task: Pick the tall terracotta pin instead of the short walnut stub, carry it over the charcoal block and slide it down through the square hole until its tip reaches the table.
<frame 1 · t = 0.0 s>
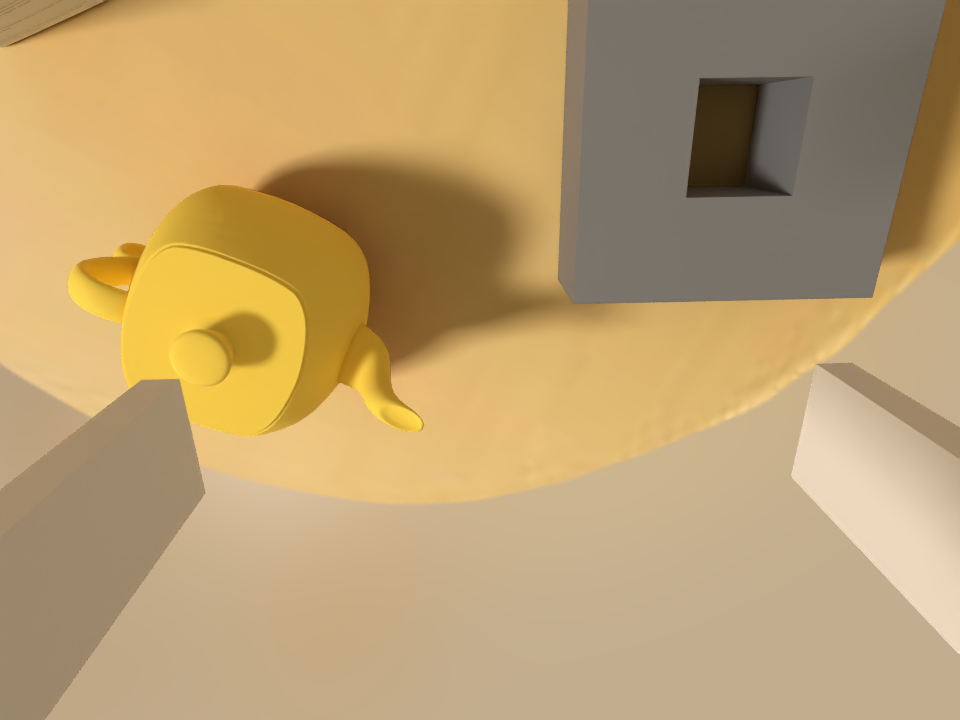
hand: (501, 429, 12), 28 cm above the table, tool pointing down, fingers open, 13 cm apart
teapot: (298, 298, 40), on the table
hole block: (704, 137, 36), on the table
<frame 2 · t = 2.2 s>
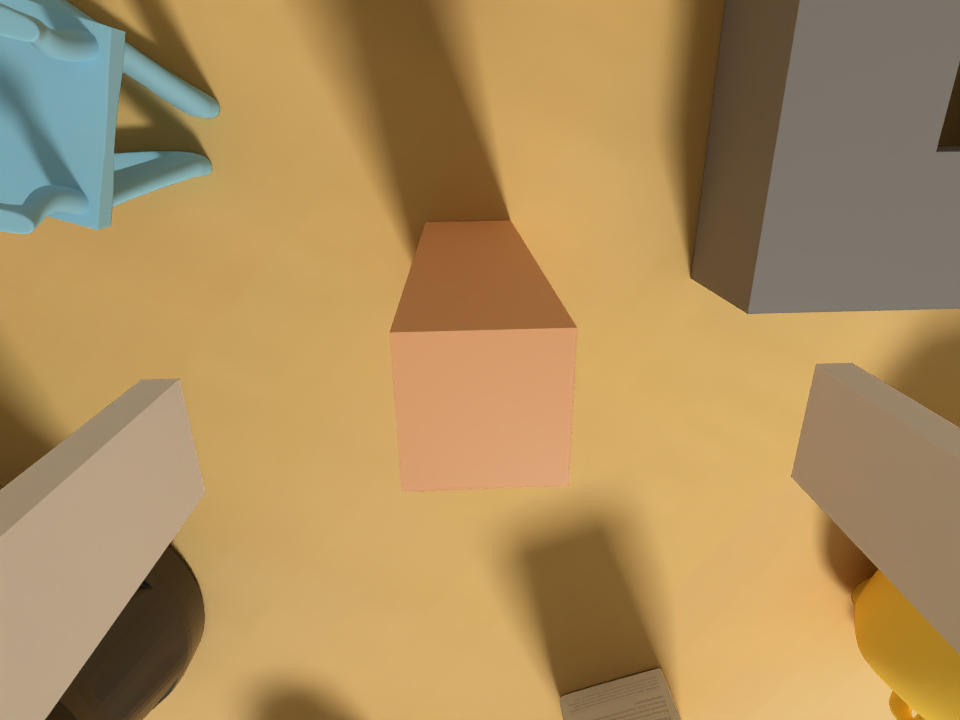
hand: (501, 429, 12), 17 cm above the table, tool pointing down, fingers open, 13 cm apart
blue tall openwork piece: (120, 110, 25), on the table
teapot: (953, 551, 36), on the table
supplement box: (621, 712, 40), on the table
tall pin: (469, 263, 28), on the table
hole block: (915, 74, 25), on the table
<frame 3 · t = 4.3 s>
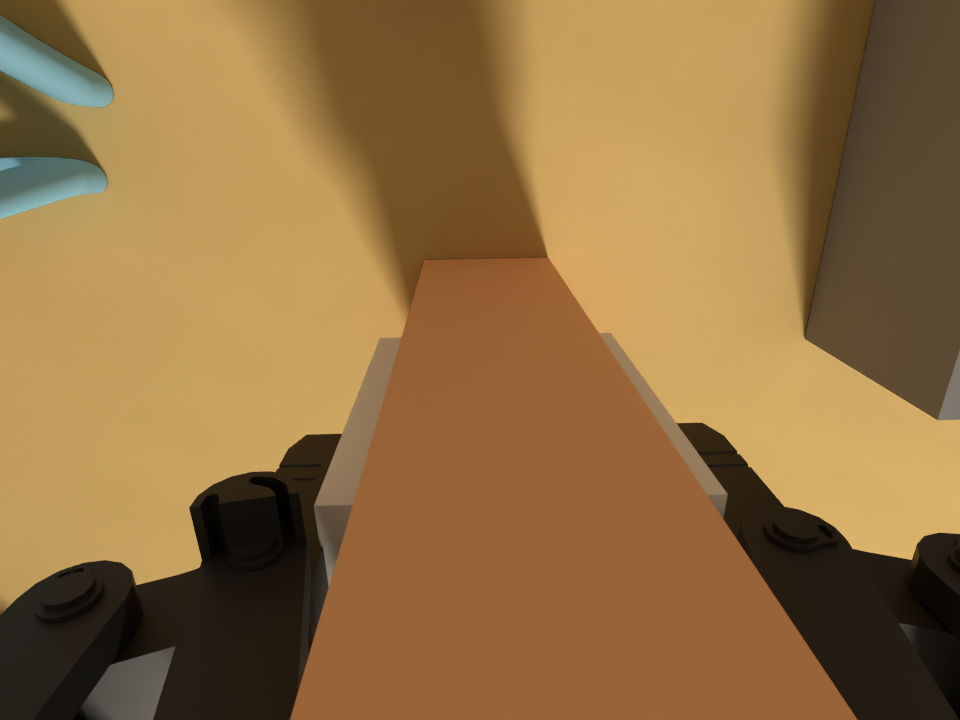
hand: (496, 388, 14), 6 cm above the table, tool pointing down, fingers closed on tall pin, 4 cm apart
tall pin: (486, 317, 19), on the table, touching gripper
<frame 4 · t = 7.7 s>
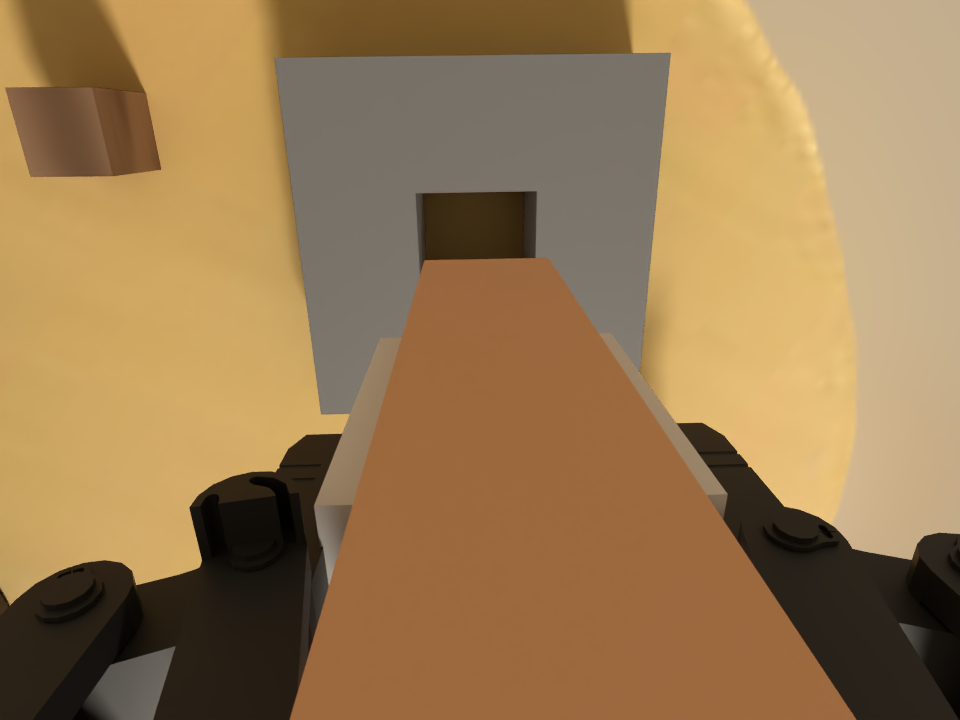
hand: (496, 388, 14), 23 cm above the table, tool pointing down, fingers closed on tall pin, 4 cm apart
tall pin: (487, 318, 19), point 17 cm above the table, touching gripper
hole block: (474, 233, 35), on the table
short pin: (117, 132, 32), on the table
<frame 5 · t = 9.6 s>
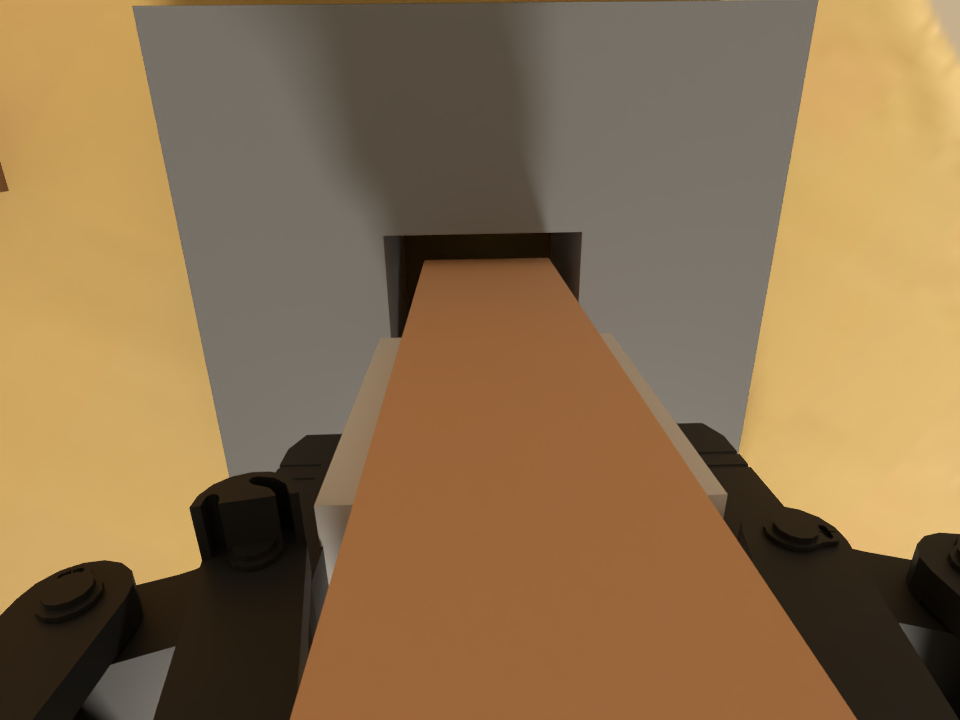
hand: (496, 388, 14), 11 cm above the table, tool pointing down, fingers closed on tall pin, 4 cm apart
tall pin: (487, 318, 19), point 5 cm above the table, touching gripper
hole block: (478, 282, 24), on the table
when the fingers open (8 cm above the table, at t = 11.2 s): tall pin drops 2 cm, resting in hole block.
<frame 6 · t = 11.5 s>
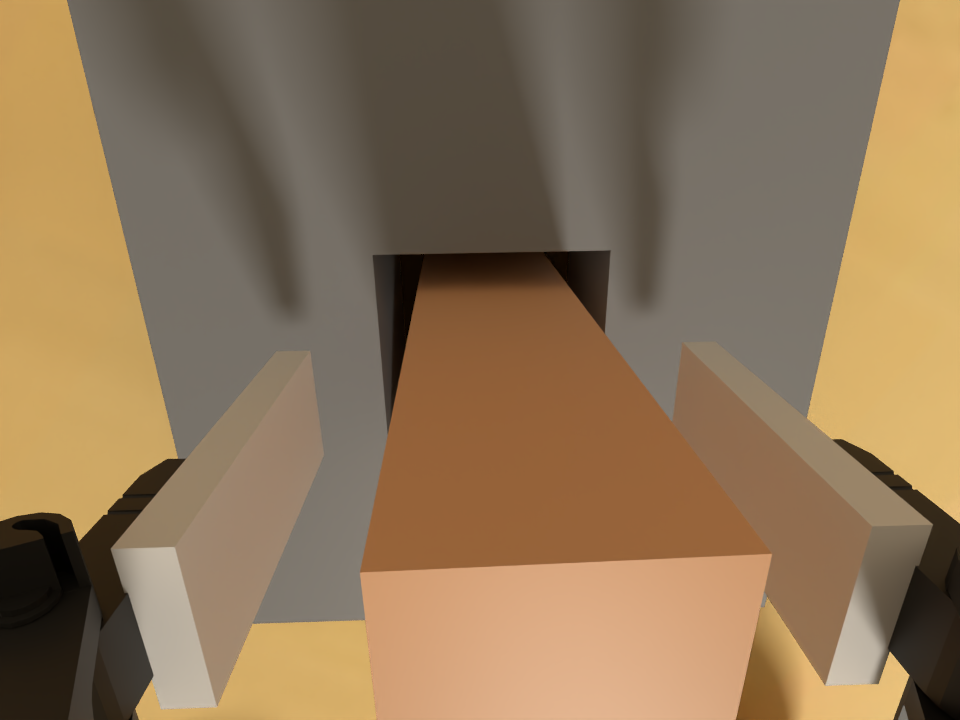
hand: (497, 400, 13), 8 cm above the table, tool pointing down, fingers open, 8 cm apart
tall pin: (482, 301, 21), resting in hole block
hole block: (484, 301, 21), on the table
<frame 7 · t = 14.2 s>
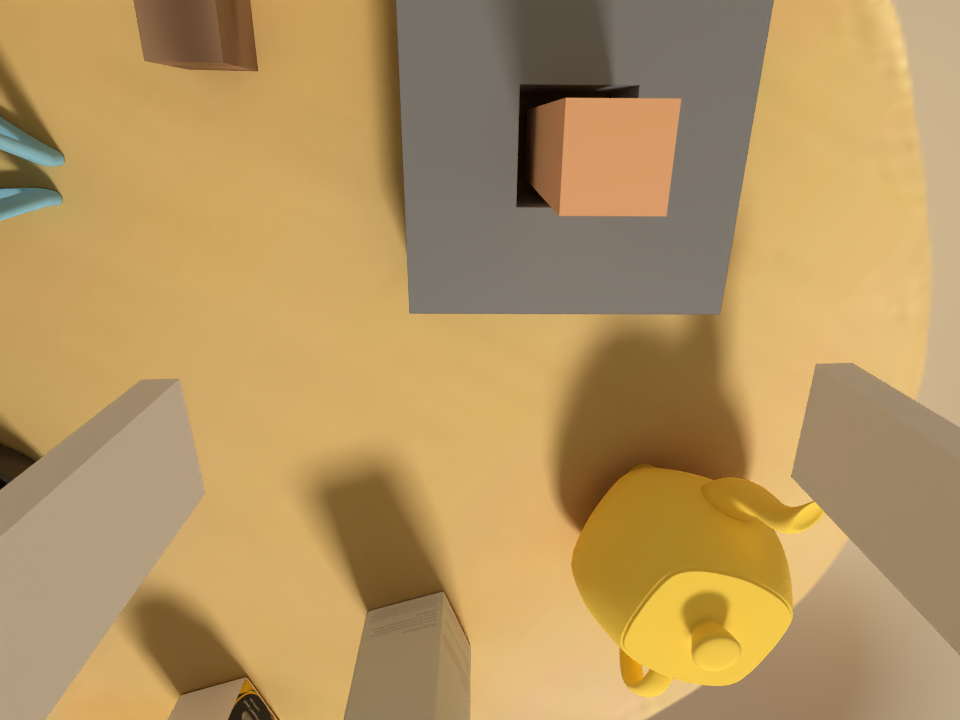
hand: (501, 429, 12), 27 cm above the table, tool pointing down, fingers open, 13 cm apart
teapot: (664, 506, 46), on the table
supplement box: (420, 628, 51), on the table
tall pin: (558, 145, 35), resting in hole block
hole block: (560, 144, 35), on the table
short pin: (219, 31, 33), on the table
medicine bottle: (233, 707, 54), on the table
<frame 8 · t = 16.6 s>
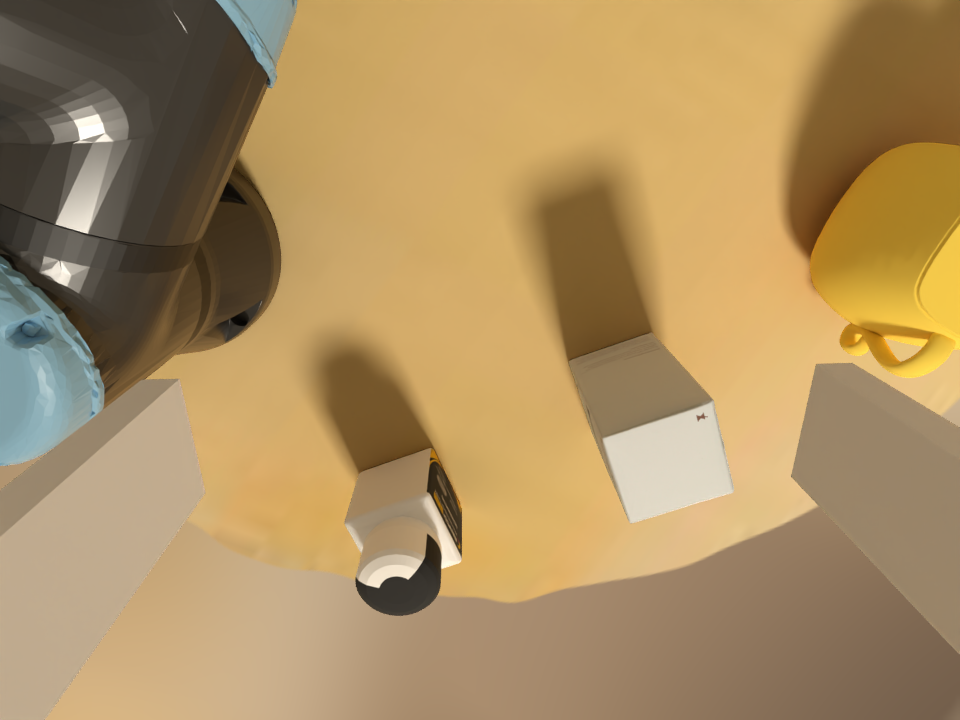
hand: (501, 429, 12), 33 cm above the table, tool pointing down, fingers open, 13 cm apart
teapot: (893, 220, 44), on the table
supplement box: (619, 382, 48), on the table
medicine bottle: (411, 489, 52), on the table
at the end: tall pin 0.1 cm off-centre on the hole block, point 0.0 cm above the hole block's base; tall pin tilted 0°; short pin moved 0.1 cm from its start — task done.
